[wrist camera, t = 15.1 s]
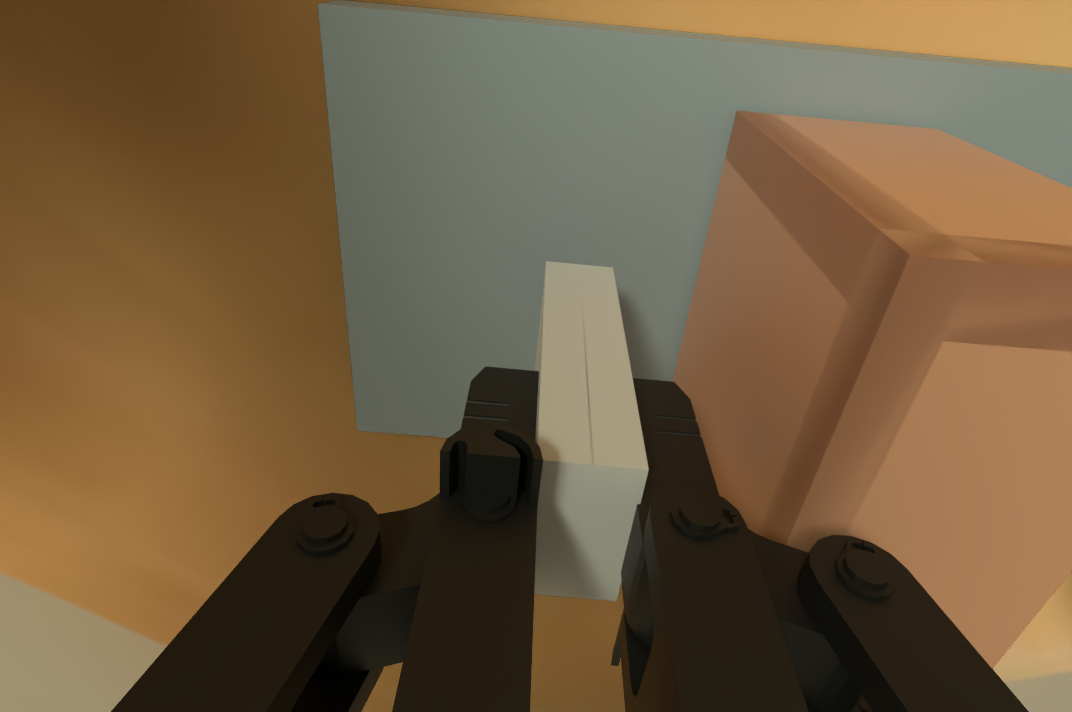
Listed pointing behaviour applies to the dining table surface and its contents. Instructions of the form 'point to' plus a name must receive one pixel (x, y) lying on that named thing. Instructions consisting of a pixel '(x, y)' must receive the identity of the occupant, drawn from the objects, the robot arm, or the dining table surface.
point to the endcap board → (581, 172)
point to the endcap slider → (892, 357)
